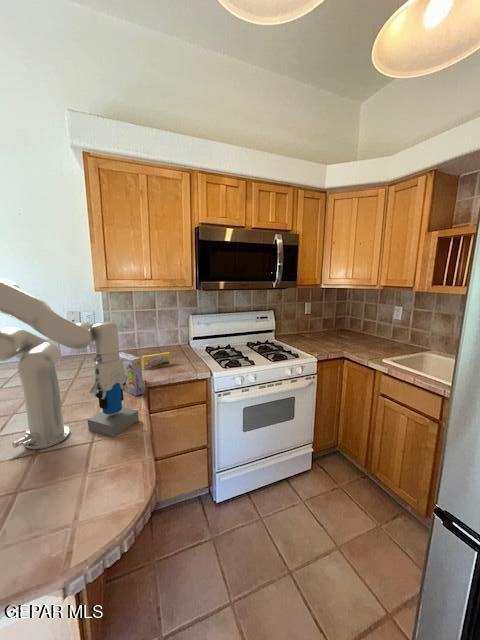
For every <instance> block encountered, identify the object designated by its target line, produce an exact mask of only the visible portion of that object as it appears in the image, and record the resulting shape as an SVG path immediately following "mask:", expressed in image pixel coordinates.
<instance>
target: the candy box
mask: <svg viewBox="0 0 480 640" xmlns="http://www.w3.org/2000/svg"><path fill="white" fill-rule="evenodd" d="M170 354H171V353H170V351H168V352H161V353H155V354H149V355H142V370H143V371H144V370H152V369H157V368H160V367H161V368H163V367H167V366H170V365H171V355H170Z"/></svg>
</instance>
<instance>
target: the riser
mask: <svg viewBox="0 0 480 640" xmlns="http://www.w3.org/2000/svg"><path fill="white" fill-rule="evenodd" d="M137 422H139V410H137V409H134V408H133V409H132V408H128V407H125V406H122V410H121V411H120V412H119V413H117V414H114V415H106V414H104V413H103V411H101V412H99V413H97V414H95V415H93V416H91V417H90V418H88V419H87V429H88V431H92V432H95V433H98V434H101V435H104V436H108V437H111V438H113V437H116V436H117V435H118V434H120V433H121V432H123V431H125V430H126V429H127V428H129V427H131V426H132V425H134V424H135V423H137Z"/></svg>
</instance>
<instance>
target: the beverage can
mask: <svg viewBox="0 0 480 640" xmlns="http://www.w3.org/2000/svg"><path fill="white" fill-rule="evenodd" d="M115 383H116V382H115ZM102 393H103V391H102ZM102 393H101V394H102ZM105 398H107V407H108V408H107V409H102V412H103V413H104V414H106V415H114V414H117V413H119V412H120V411H121V410H122V407H123V403H122V402H123V401H122V399H121V387H120V383H116V384H114V385H113V386H112V389H111V390H109V391H106V396H105Z"/></svg>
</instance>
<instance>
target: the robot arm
mask: <svg viewBox="0 0 480 640" xmlns="http://www.w3.org/2000/svg"><path fill="white" fill-rule="evenodd" d="M0 313H2V314H4V315H6V316H7V317H10V318H13V319H15V320H17V321H19V322H21V323H24V324H25V325H27V326H29V327H31V328H32V329H33V330H35V331H36V332H38V333H39V334H41V335H42V336H44V337H46V338H47V339H48V340H47V339H45V338H42V337H40V336H39V335H36V334H34V333H33V332H30V331H27V330H26V329H23V328H21V327H20V328H19V327H16V326H14V327H13V326H12V327H11V326H10V327H9V326H8V327H4V328H0V362H8V361H10V360H13V359H14V358H16V359H19V361H18V364H17V373H18V377H19V379H20V383H21V386H22V391H23V398H24V404H25V409H26V410H25V411H26V418H27V425H28V430H26V431H25V434H24V436H22V437H21V438H18V439H16V440H15V441H13V442H12V444H11V445H12V447H13V448H14V449H16V448H19V446H22V447H23V448H24V447H25V448H27V449H29V450H39V449H40V450H41V449H46V448H49V447H52V446H55V445H57V444H60V443H61V442H63V441H64V440H66V439H67V438H68V437H69V436H70V433H71V429H70V427H69V426H66V425H65V423H64V416H63V415H64V414H63V406H62V399H61V391H60V390H61V389H60V383H59V378H58V375H57V365H58V364H59V362H60V361H61V359H62V353H61V350H60V348H59V347H58V346H57V345H56V344H54V343H53V341H54V342H55V343H58V344H60V345H62V346H64V347H67V348H69V349H72V350H73V349H74V350H82V349H86V348H87V347H89V346H90V344H91V343H92V342H93V343H94V349H95V357H93V360H94V361H95V363H94V372H93V376H94V377H93V379H94V383H93V386H92V387H91V389H90V391H89V393H90V394H91V395H93V396H94V397H95V398H97V399H98V406H99V408H100V409H102V410H103V409H107V408H108V407H107V398H105V396H106V391H109V390H111V389H112V386H113V385H114V384H116V383H120V387H121V399H122V402H124V391H125V390H124V386H125V384H126V381H127V379H128V376H127V375H125V369H124V364H123V361H122V358H120V355H119V353H120V346H119V332H118V325H117V323H116V322H113V321H103V322H78V323H74V322H72V321H70V320H68V319H65V317H63V316H61V315H60V314H58V313H56V312H55V311H54V310H53V309H52V307H51V306H50V305H49V304H48V303H47V302H45V301H44V300H41V299H40V298H37V297H36V296H33V295H31V294H29V293H27V292H25V291H23V290H21V288H20V286H19V285H18V284H17V283H15V282H14V281H12V280H9V279H3V278H1V279H0ZM49 340H51V341H52V342H50V341H49ZM115 382H116V383H115ZM102 391H103V393H102ZM101 393H102V394H101Z"/></svg>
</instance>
